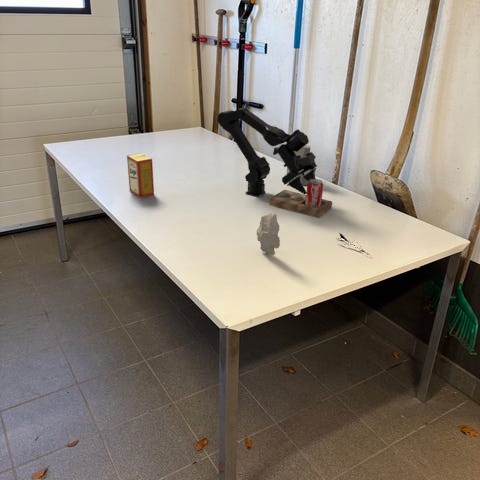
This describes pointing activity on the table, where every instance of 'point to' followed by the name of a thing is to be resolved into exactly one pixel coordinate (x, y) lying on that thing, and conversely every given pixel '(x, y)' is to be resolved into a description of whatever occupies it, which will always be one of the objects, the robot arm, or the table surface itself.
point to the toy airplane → (350, 243)
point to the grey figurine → (268, 233)
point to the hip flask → (302, 153)
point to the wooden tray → (299, 203)
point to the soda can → (314, 193)
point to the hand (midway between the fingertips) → (311, 190)
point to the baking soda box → (140, 175)
